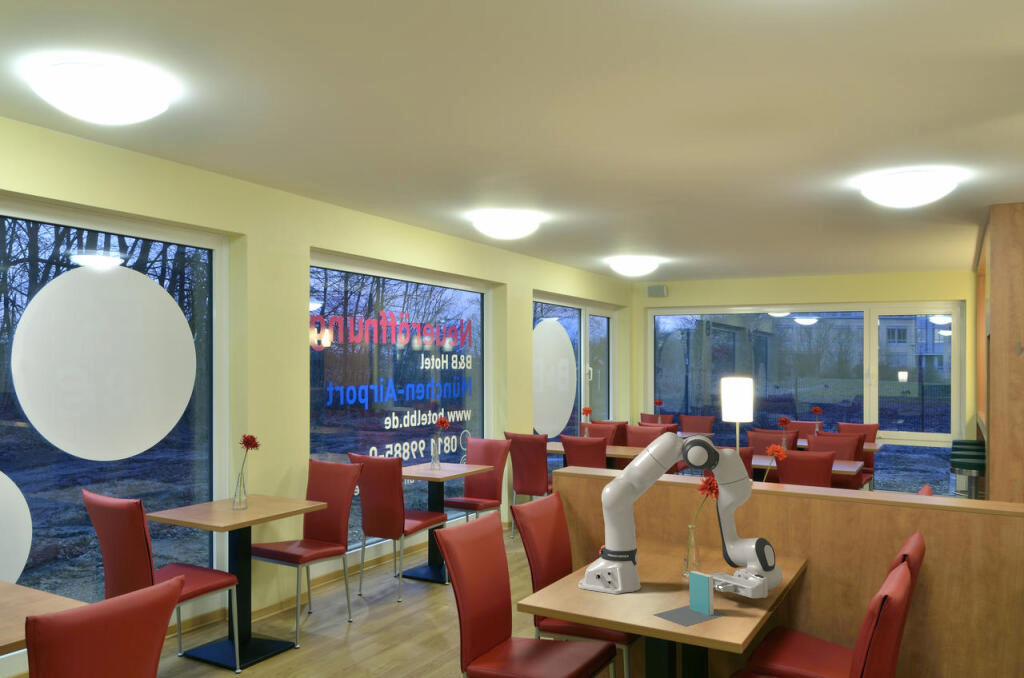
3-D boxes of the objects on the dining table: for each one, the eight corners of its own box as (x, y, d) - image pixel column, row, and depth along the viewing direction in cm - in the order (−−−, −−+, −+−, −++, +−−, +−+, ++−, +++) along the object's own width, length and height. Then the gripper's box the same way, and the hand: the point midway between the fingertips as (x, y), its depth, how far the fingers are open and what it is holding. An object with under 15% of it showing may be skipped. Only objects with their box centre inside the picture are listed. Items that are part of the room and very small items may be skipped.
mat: (695, 605, 254) (695, 603, 254) (729, 616, 242) (729, 614, 242) (652, 616, 242) (652, 614, 242) (685, 628, 231) (685, 626, 231)
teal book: (694, 607, 249) (693, 570, 250) (713, 614, 243) (712, 576, 243) (689, 609, 248) (689, 571, 248) (709, 615, 241) (708, 577, 242)
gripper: (721, 566, 267) (694, 572, 259) (771, 579, 250) (743, 586, 242) (721, 584, 267) (694, 591, 259) (771, 598, 250) (744, 606, 242)
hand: (718, 588), depth 250 cm, fingers closed
